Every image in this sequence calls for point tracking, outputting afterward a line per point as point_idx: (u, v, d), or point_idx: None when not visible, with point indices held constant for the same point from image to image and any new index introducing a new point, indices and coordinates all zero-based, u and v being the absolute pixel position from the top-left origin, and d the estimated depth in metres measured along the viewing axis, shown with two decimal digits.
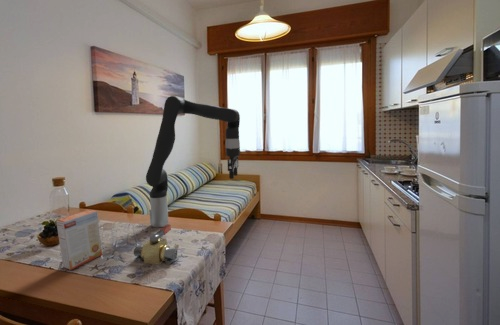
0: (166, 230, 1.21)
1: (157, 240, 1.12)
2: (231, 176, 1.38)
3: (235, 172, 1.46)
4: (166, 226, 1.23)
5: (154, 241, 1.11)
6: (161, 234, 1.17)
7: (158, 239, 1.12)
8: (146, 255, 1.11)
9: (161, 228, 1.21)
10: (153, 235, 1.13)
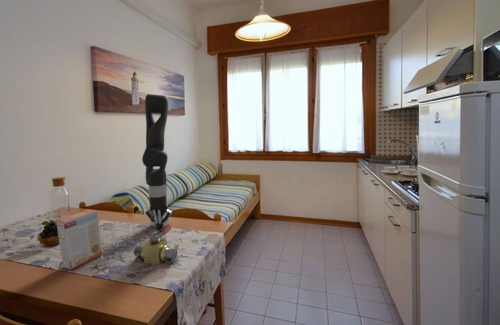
0: (166, 230, 1.21)
1: (157, 240, 1.12)
2: (162, 227, 1.23)
3: None
4: (166, 226, 1.23)
5: (154, 241, 1.11)
6: (161, 234, 1.17)
7: (158, 239, 1.12)
8: (146, 255, 1.11)
9: (161, 228, 1.21)
10: (153, 235, 1.13)
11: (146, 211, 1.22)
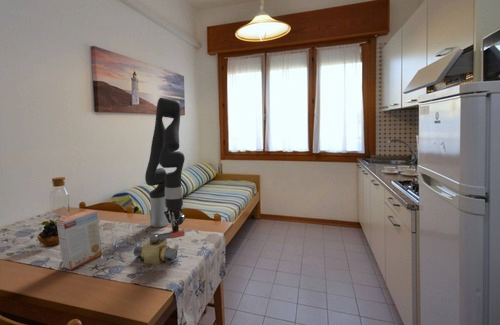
0: (174, 235, 1.16)
1: (153, 241, 1.11)
2: None
3: None
4: (178, 231, 1.17)
5: (150, 241, 1.12)
6: (165, 237, 1.14)
7: (154, 240, 1.11)
8: (146, 255, 1.11)
9: (172, 231, 1.17)
10: (154, 235, 1.13)
11: (164, 211, 1.21)
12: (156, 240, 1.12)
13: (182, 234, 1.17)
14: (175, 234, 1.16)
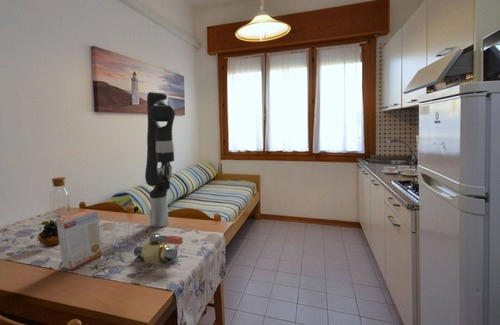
0: (170, 240, 1.10)
1: (150, 241, 1.12)
2: (167, 186, 1.18)
3: None
4: (176, 237, 1.10)
5: None
6: (162, 240, 1.11)
7: (151, 240, 1.11)
8: (146, 255, 1.11)
9: (171, 236, 1.12)
10: (155, 235, 1.13)
11: None
12: (153, 241, 1.11)
13: (177, 242, 1.09)
14: (171, 240, 1.10)
